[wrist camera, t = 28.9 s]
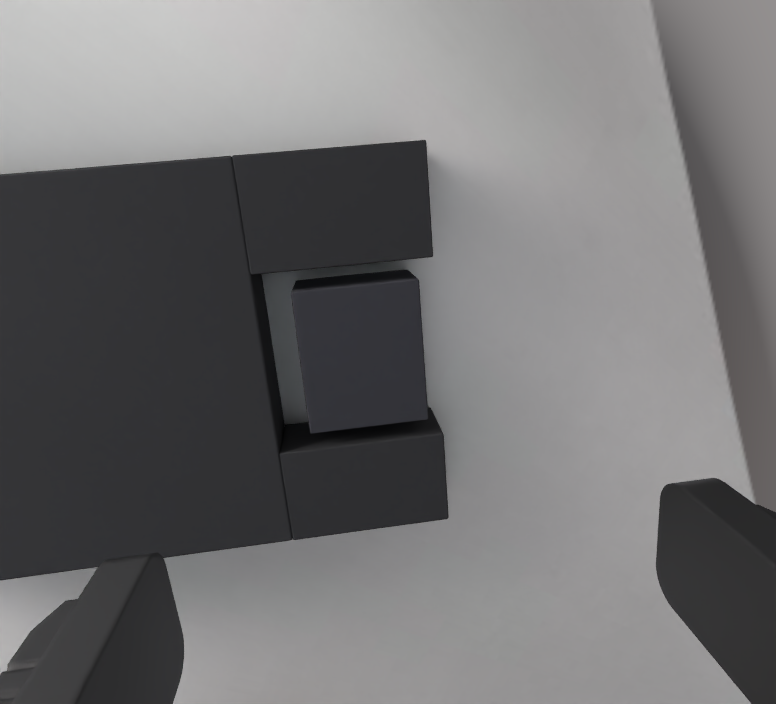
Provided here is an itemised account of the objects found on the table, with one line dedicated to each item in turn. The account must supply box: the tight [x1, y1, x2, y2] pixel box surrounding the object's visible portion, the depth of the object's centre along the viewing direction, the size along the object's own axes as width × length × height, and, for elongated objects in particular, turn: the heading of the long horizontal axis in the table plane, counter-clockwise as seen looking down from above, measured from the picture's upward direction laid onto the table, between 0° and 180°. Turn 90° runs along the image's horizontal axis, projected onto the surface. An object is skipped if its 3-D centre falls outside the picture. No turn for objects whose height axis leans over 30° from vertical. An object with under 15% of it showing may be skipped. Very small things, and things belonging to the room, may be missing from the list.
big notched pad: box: [0, 140, 448, 580], centre depth 22 cm, size 24×16×3 cm, turn 95°
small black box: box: [291, 270, 428, 433], centre depth 23 cm, size 5×6×3 cm
